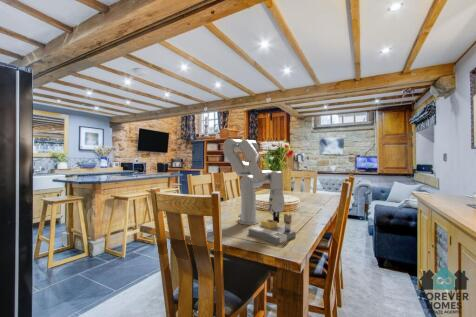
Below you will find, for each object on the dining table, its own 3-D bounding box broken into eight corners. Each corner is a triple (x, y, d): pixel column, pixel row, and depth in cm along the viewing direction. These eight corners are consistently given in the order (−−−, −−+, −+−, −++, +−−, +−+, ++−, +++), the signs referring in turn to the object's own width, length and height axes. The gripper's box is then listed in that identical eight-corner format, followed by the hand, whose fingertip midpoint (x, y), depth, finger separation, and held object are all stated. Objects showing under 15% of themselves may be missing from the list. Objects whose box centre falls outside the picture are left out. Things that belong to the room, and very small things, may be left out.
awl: (282, 231, 124) (282, 214, 124) (286, 229, 127) (286, 213, 127) (288, 233, 121) (288, 216, 121) (292, 231, 124) (293, 214, 124)
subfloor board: (248, 234, 128) (248, 228, 128) (267, 228, 138) (267, 223, 138) (277, 244, 113) (277, 238, 113) (295, 237, 124) (295, 231, 124)
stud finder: (261, 226, 133) (261, 220, 133) (267, 224, 137) (267, 218, 137) (270, 228, 128) (270, 222, 128) (277, 226, 132) (277, 220, 132)
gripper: (273, 193, 129) (273, 226, 129) (288, 191, 139) (288, 221, 139) (263, 192, 135) (263, 223, 135) (278, 190, 145) (278, 219, 145)
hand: (276, 222), depth 137 cm, fingers closed
